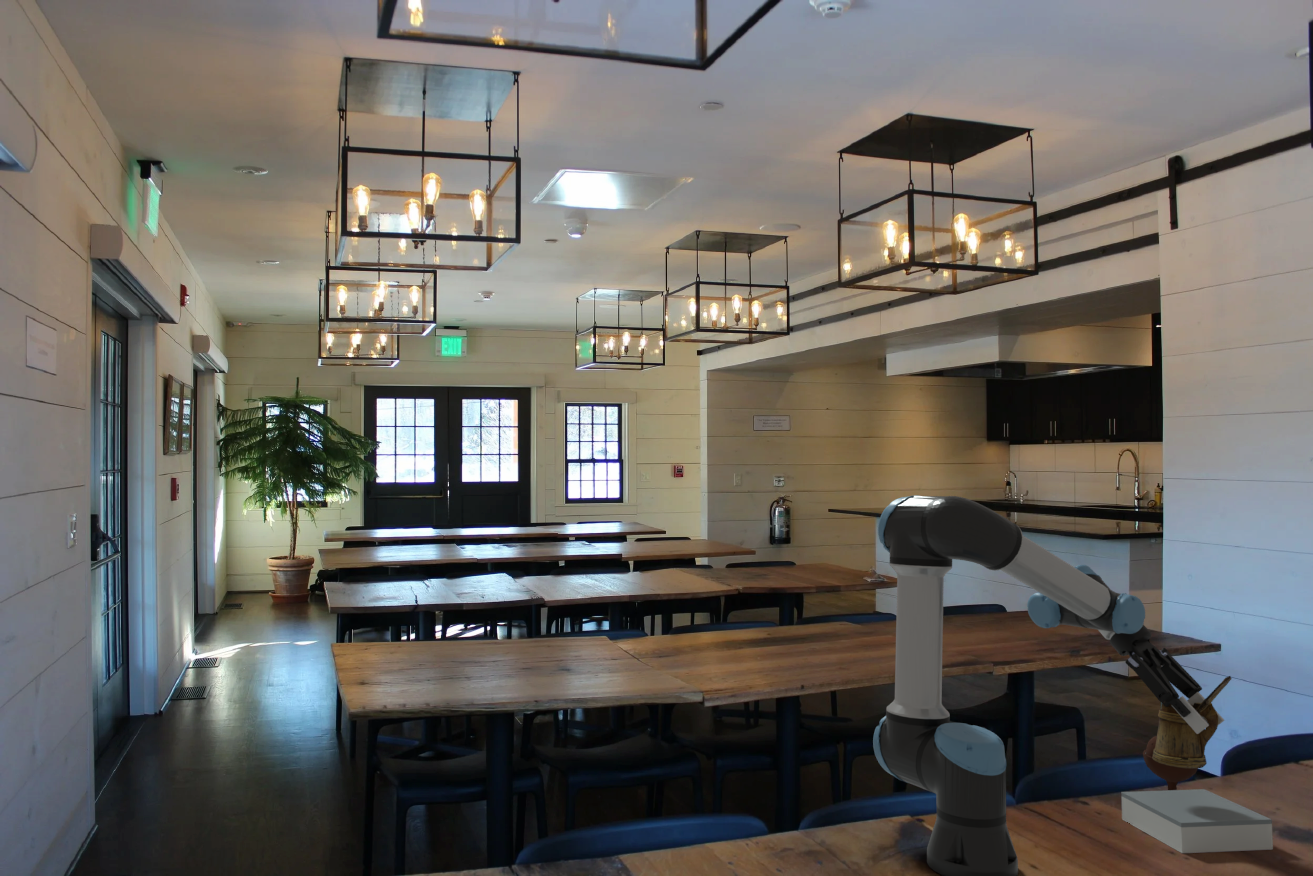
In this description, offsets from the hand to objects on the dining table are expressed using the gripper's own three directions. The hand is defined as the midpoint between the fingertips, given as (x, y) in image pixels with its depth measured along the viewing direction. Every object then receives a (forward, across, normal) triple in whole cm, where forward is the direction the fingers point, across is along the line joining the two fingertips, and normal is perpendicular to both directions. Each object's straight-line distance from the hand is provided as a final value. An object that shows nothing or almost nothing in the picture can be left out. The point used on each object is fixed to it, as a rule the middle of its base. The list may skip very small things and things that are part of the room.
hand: (1210, 727), depth 179 cm
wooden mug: (+3, 0, +8) cm, 9 cm away
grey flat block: (+12, 0, +17) cm, 21 cm away
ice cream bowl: (+4, +17, +26) cm, 31 cm away
